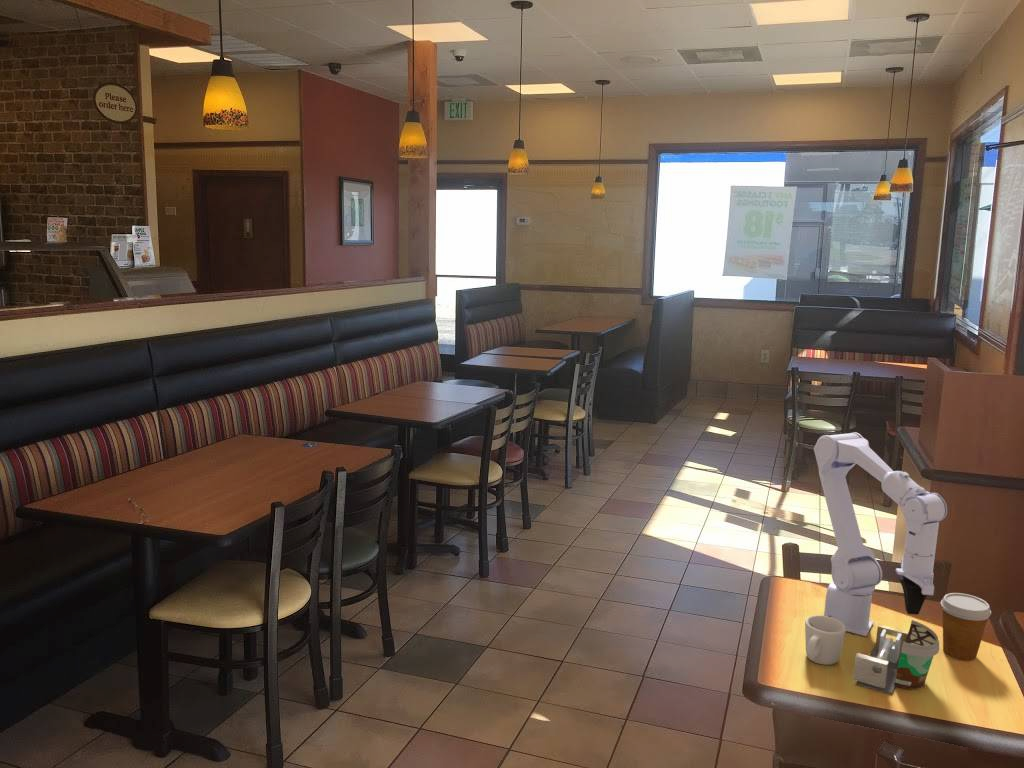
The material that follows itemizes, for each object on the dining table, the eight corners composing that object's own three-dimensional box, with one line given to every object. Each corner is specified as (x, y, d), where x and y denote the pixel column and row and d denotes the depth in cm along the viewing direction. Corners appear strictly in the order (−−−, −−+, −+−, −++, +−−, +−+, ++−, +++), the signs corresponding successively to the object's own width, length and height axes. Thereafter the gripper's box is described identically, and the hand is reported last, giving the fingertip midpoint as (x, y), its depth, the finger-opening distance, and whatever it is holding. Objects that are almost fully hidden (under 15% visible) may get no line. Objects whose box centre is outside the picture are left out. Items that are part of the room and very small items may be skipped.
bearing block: (877, 660, 179) (880, 635, 178) (880, 653, 182) (883, 628, 181) (895, 665, 177) (898, 640, 176) (898, 658, 180) (901, 633, 179)
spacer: (875, 649, 182) (877, 626, 181) (876, 647, 184) (878, 623, 183) (905, 657, 179) (908, 634, 178) (906, 655, 180) (909, 631, 179)
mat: (856, 684, 169) (856, 682, 169) (876, 642, 187) (876, 640, 187) (891, 694, 166) (892, 692, 166) (909, 650, 183) (909, 649, 183)
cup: (827, 678, 171) (831, 641, 170) (789, 664, 177) (793, 628, 175) (848, 659, 179) (852, 623, 178) (811, 645, 184) (815, 611, 183)
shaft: (853, 679, 169) (855, 656, 168) (866, 652, 180) (869, 630, 179) (884, 688, 166) (887, 664, 165) (896, 660, 177) (898, 638, 176)
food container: (926, 701, 164) (937, 654, 162) (892, 688, 167) (902, 643, 165) (934, 673, 174) (944, 629, 172) (902, 662, 177) (912, 618, 175)
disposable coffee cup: (991, 667, 177) (998, 614, 175) (941, 662, 179) (948, 608, 176) (976, 645, 186) (983, 594, 184) (929, 640, 188) (935, 589, 186)
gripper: (888, 537, 183) (882, 596, 185) (910, 563, 169) (902, 627, 171) (923, 539, 182) (916, 598, 184) (948, 566, 168) (939, 630, 170)
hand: (912, 612), depth 178 cm, fingers closed
